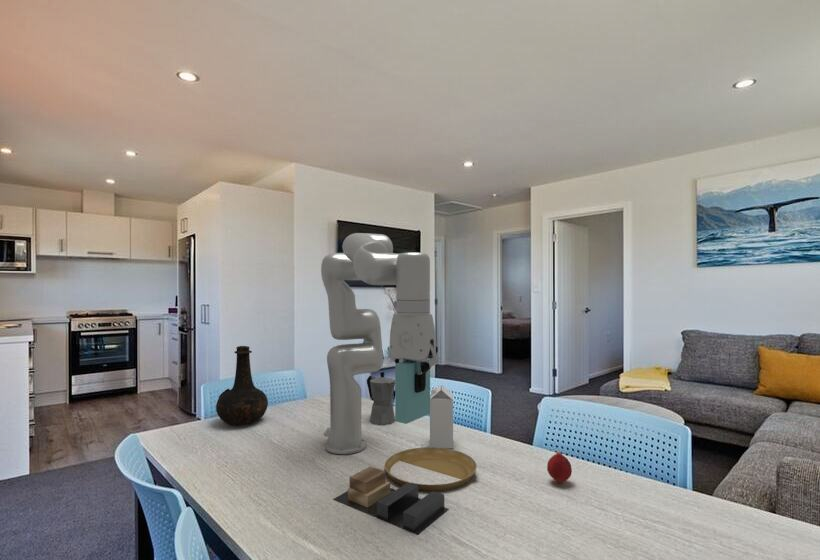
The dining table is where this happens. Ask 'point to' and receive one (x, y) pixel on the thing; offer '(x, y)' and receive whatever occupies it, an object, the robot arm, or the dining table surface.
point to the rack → (403, 508)
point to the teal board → (410, 393)
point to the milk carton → (441, 417)
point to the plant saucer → (435, 465)
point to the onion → (559, 467)
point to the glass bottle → (242, 395)
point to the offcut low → (369, 495)
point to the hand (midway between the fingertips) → (413, 389)
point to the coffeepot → (381, 399)
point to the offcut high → (367, 479)
